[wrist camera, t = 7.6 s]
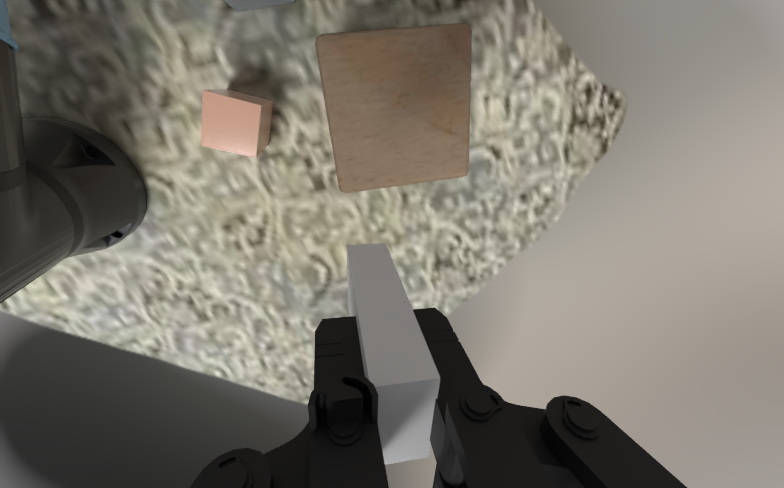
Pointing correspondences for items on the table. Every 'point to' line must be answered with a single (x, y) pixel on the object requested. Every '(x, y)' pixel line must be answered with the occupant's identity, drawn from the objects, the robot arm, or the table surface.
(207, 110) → the terracotta block
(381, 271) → the robot arm
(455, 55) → the wooden block
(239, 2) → the slate cube
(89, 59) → the table surface
